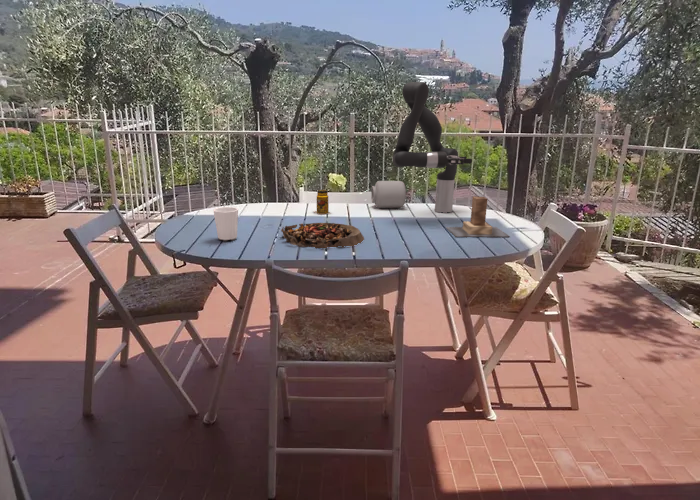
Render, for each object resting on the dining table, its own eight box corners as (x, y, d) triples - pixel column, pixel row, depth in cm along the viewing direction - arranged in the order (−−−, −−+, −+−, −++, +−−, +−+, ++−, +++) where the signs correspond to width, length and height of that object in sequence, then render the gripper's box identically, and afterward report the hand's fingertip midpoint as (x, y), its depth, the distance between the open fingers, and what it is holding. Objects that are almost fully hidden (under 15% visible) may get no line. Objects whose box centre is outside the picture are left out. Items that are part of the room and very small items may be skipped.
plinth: (455, 237, 212) (456, 228, 211) (445, 228, 227) (446, 219, 226) (509, 237, 214) (510, 228, 212) (496, 228, 229) (497, 219, 228)
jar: (405, 204, 255) (358, 196, 256) (401, 220, 268) (356, 212, 268) (409, 176, 265) (363, 168, 266) (404, 193, 278) (361, 186, 278)
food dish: (266, 246, 199) (265, 227, 197) (303, 229, 229) (303, 213, 227) (346, 254, 186) (346, 234, 184) (374, 235, 216) (375, 218, 214)
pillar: (473, 225, 217) (476, 198, 213) (470, 222, 221) (472, 196, 218) (484, 225, 217) (487, 198, 213) (481, 222, 222) (483, 196, 218)
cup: (227, 244, 197) (225, 213, 193) (210, 240, 202) (208, 210, 198) (244, 238, 205) (243, 208, 201) (227, 235, 210) (226, 205, 206)
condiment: (318, 215, 249) (318, 191, 246) (313, 211, 257) (312, 188, 253) (331, 214, 252) (331, 191, 248) (326, 210, 259) (326, 188, 256)
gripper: (439, 153, 223) (474, 153, 224) (432, 150, 236) (465, 150, 237) (438, 169, 225) (472, 170, 226) (431, 165, 238) (463, 166, 240)
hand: (468, 160), depth 232 cm, fingers open, 8 cm apart
